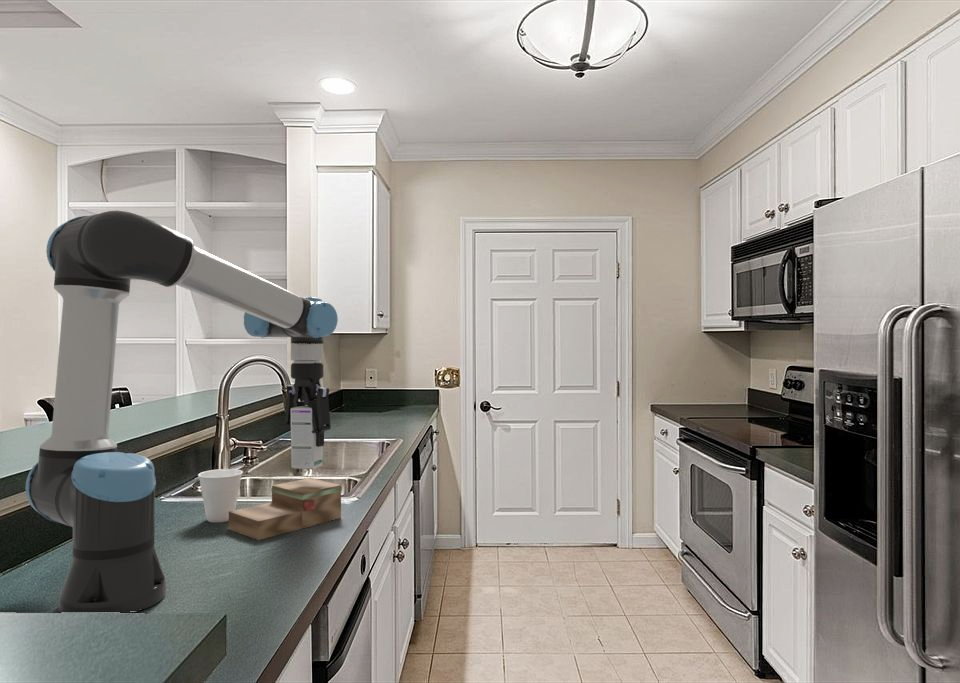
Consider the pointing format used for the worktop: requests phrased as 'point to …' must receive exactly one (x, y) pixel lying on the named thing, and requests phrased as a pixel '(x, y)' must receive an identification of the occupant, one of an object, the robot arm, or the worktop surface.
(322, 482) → the step stand
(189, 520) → the worktop surface
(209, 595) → the worktop surface
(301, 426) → the syrup box
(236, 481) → the cup
